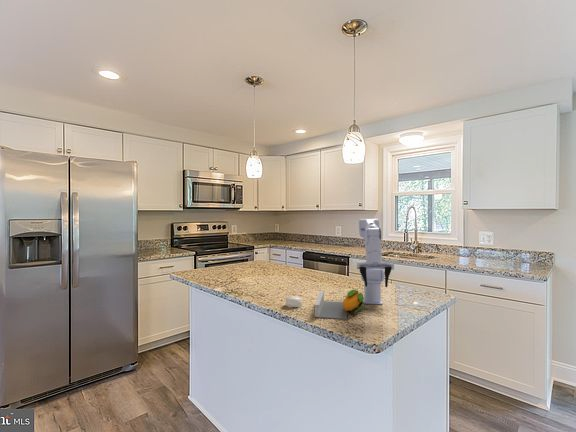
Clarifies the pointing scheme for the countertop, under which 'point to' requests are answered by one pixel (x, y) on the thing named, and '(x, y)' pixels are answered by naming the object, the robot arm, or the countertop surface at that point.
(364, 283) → the robot arm
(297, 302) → the white glossy round part
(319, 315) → the bracket
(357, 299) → the toy fruit
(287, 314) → the countertop surface
